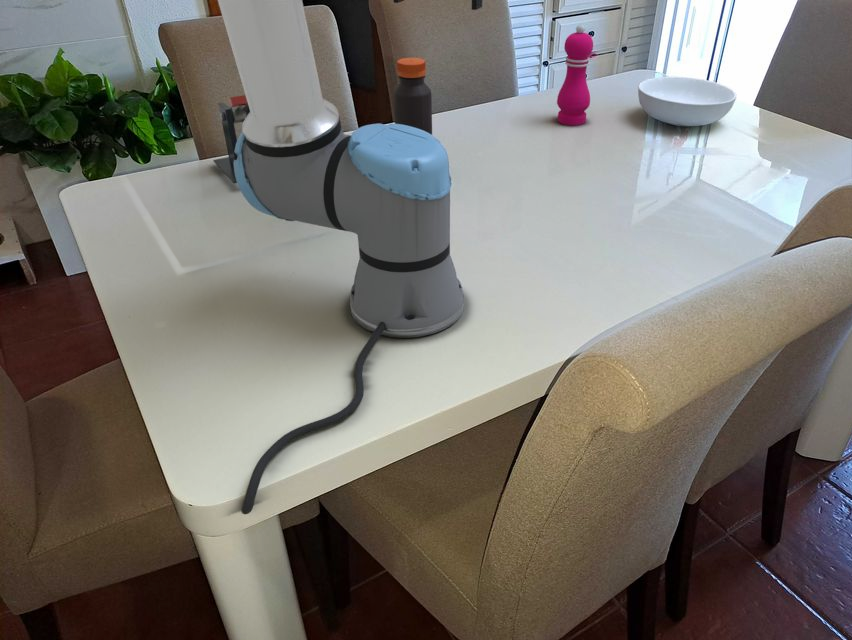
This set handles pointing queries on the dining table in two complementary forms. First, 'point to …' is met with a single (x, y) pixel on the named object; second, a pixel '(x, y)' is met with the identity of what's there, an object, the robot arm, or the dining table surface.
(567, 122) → the pepper mill
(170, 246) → the dining table surface
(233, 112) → the lever
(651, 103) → the serving bowl
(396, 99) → the bottle
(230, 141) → the bracket
